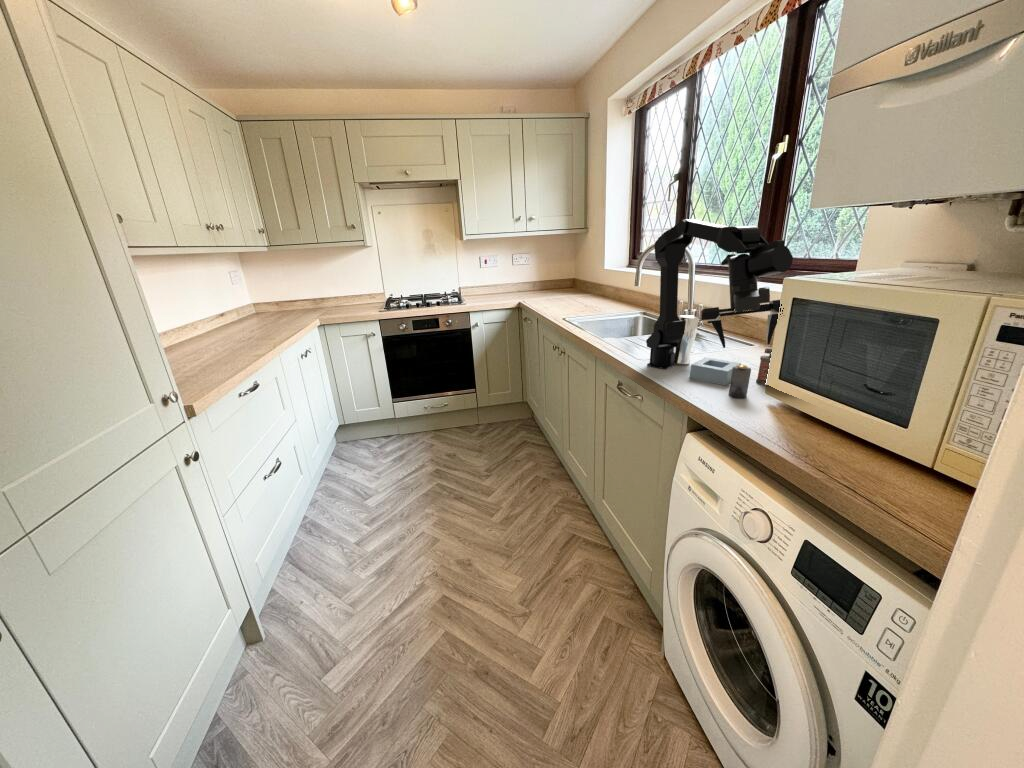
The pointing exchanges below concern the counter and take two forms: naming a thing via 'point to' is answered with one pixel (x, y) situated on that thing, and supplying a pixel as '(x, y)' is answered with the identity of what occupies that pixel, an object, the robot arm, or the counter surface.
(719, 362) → the box
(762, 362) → the red decorated tea tin
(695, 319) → the shiny silver cylinder
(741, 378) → the cell
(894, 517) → the counter surface
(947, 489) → the counter surface
